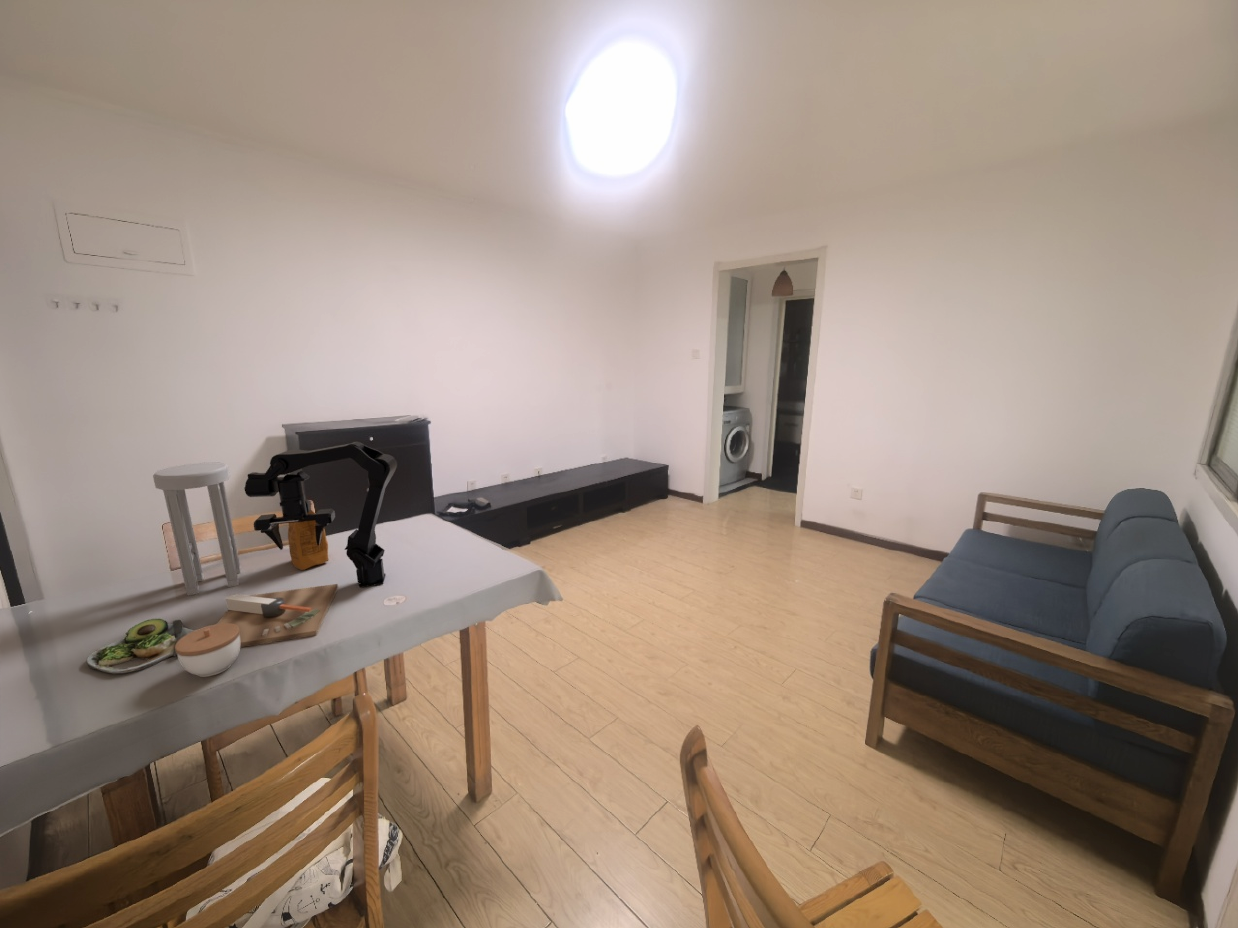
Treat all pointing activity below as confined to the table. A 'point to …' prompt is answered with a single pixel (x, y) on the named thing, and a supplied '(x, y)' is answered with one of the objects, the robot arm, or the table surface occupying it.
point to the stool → (179, 514)
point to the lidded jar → (209, 649)
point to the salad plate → (140, 646)
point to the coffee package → (306, 544)
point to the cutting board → (284, 616)
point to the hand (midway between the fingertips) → (300, 547)
